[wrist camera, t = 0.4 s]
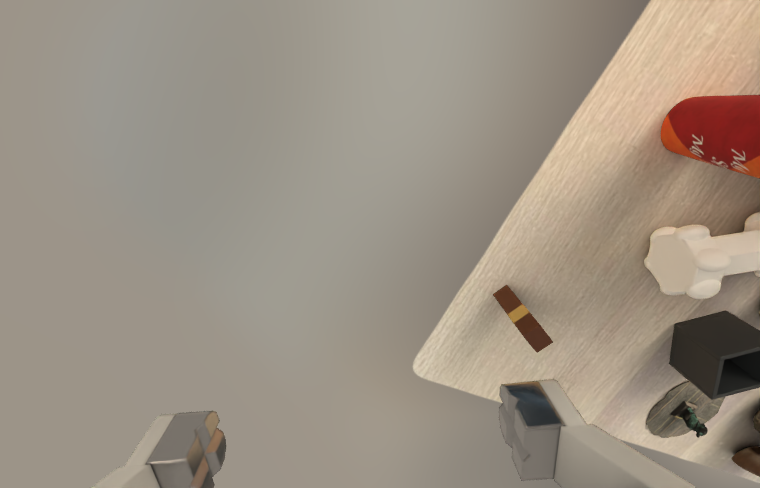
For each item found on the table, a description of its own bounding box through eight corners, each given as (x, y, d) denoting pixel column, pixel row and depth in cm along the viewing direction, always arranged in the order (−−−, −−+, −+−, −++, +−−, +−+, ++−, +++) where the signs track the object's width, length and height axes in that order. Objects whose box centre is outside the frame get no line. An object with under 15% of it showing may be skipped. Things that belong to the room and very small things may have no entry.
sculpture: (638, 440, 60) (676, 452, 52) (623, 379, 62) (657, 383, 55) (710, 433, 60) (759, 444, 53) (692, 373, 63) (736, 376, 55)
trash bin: (674, 323, 50) (720, 357, 44) (726, 310, 50) (779, 342, 44) (669, 363, 53) (711, 400, 47) (717, 351, 53) (766, 385, 47)
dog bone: (770, 195, 43) (859, 219, 36) (748, 261, 47) (825, 295, 39) (647, 214, 42) (713, 242, 35) (634, 279, 46) (692, 318, 39)
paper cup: (638, 157, 40) (781, 195, 27) (670, 79, 37) (848, 80, 24) (700, 166, 41) (865, 206, 28) (736, 91, 38) (939, 98, 25)
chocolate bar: (492, 294, 45) (522, 336, 38) (506, 284, 44) (540, 324, 37) (505, 309, 46) (537, 353, 39) (518, 300, 46) (553, 342, 38)
